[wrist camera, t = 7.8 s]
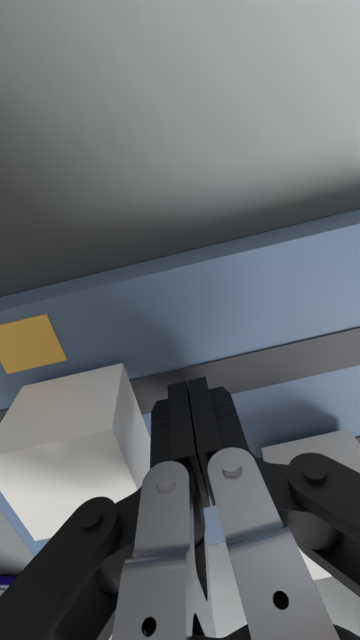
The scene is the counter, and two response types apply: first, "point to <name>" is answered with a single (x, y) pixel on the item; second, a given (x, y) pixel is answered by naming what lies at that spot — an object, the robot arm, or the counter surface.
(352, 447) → the far tab
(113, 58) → the counter surface
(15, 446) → the near tab
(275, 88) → the counter surface
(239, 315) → the switch panel
